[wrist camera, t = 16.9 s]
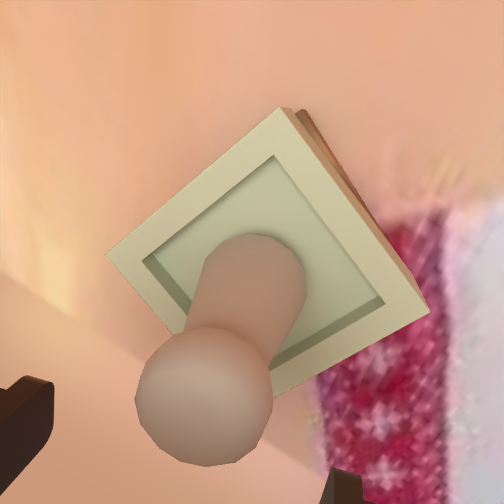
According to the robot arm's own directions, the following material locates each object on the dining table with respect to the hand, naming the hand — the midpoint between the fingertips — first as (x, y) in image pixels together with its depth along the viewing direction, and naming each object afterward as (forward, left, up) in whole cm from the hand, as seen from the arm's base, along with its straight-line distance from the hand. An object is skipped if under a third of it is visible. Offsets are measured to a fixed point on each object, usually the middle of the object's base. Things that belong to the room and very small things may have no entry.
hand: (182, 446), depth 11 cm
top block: (0, 0, -18) cm, 18 cm away
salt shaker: (0, 0, -14) cm, 14 cm away
